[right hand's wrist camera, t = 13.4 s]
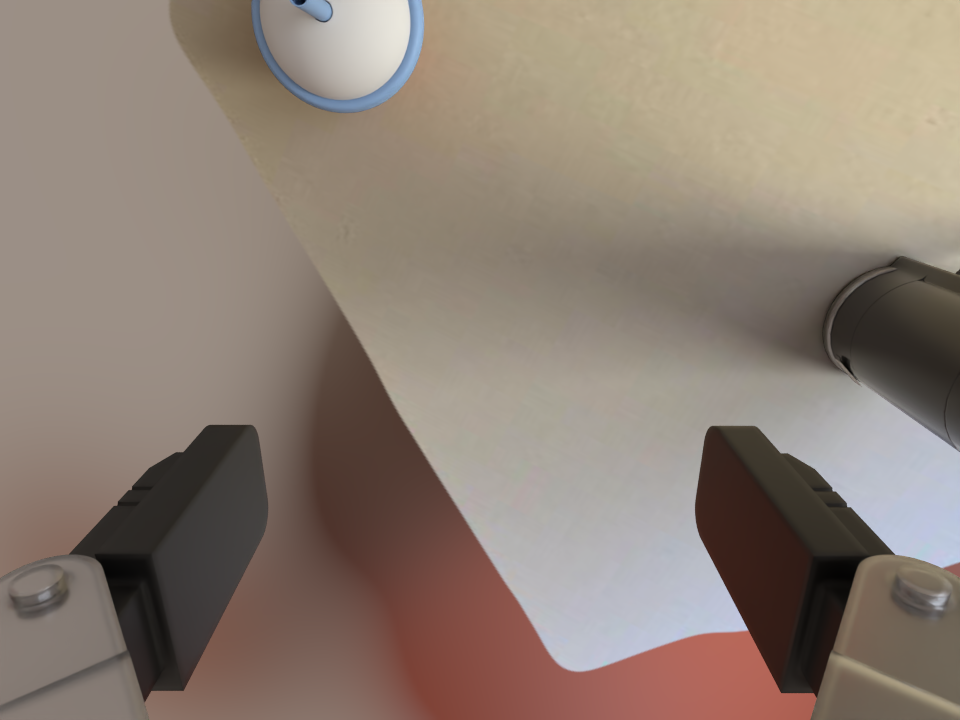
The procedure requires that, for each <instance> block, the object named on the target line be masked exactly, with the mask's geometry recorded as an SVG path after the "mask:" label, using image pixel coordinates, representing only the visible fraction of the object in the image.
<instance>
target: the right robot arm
mask: <svg viewBox="0 0 960 720" xmlns="http://www.w3.org/2000/svg"><path fill="white" fill-rule="evenodd" d="M823 341H824V346H825V350H826V352H827V354H828V356H829V358H830V359H831V361H832V362H833V363H834V364H835V365H836V366H837V367H838V368H839V369H841V370H842V371H844V372H845V373H846V374H848V375H849V376H850V377H851V379H852V380H853V381H854V382H856V383H857V384H858V385H860V384H859V383H858V382H857V381H856V380H858V381H859V382H861V383H863V384H864V385H866V386H867V387H868V388H870V389H871V390H873V391H874V392H875V393H877V394H878V395H880V396H881V397H883V398H884V399H885V400H887V401H888V402H890V403H891V404H892V405H894V406H895V407H897V408H898V409H900V410H901V411H902V412H904V413H905V414H907V415H908V416H909V417H911V418H912V419H914V420H915V421H917V422H918V423H919V424H921V425H922V426H924V427H925V428H927V429H928V430H929V431H931V432H932V433H934V434H935V435H936V436H938V437H939V438H941V439H942V440H944V441H945V442H946V443H948V444H949V445H951V446H952V447H953V448H955V449H956V450H958V451H959V452H960V270H959V271H958V272H957V273H956V274H954V273H951V272H948V271H945V270H942V269H939V268H936V267H933V266H930V265H927V264H924V263H921V262H918V261H915V260H913V259H910V258H907V257H904V256H902V257H900V258H898V259H897V260H896V261H895V262H894V263H893V264H892V265H891V266H887V267H882V268H879V269H875V270H872V271H870V272H868V273H866V274H863V275H862V276H860V277H858V278H857V279H855V280H854V281H852V282H851V283H850V284H849V285H848V286H846V287H845V288H844V289H843V290H842V291H841V293H840V294H839V295H838V296H837V297H836V299H835V300H834V302H833V303H832V305H831V307H830V309H829V311H828V313H827V316H826V319H825V322H824V327H823ZM860 386H861V385H860ZM861 387H862V386H861ZM695 516H696V524H697V529H698V532H699V535H700V538H701V540H702V542H703V543H704V545H705V547H706V549H707V551H708V553H709V555H710V557H711V559H712V561H713V563H714V565H715V567H716V569H717V570H718V572H719V574H720V576H721V578H722V580H723V582H724V584H725V586H726V588H727V590H728V592H729V594H730V595H731V597H732V599H733V601H734V603H735V605H736V607H737V609H738V611H739V613H740V615H741V617H742V619H743V620H744V622H745V624H746V626H747V628H748V630H749V632H750V634H751V636H752V638H753V640H754V642H755V643H756V645H757V647H758V649H759V651H760V653H761V655H762V657H763V659H764V661H765V663H766V665H767V666H768V668H769V670H770V672H771V674H772V676H773V678H774V680H775V682H776V684H777V686H778V688H779V690H780V692H781V693H814V694H815V696H816V698H817V700H816V703H815V706H814V710H813V713H812V716H811V720H960V578H959V577H957V576H956V575H954V574H952V573H950V572H948V571H947V570H944V569H942V568H940V567H938V566H936V565H933V564H930V563H928V562H925V561H922V560H918V559H915V558H911V557H906V556H899V555H895V554H894V553H893V552H892V551H891V550H890V549H889V548H888V547H887V545H886V544H885V543H884V542H883V541H882V540H881V539H880V538H879V537H878V536H877V535H876V534H875V533H874V532H873V531H872V530H871V528H870V527H869V526H868V525H867V524H866V523H865V522H864V521H863V520H862V519H861V518H860V517H859V516H858V515H857V514H856V513H855V511H854V510H853V509H852V508H851V507H847V503H846V502H845V501H844V500H843V499H842V498H841V497H840V496H839V494H838V493H837V492H833V491H832V487H831V486H830V485H829V484H828V483H827V482H826V481H825V480H824V479H823V477H822V476H821V475H820V474H819V473H818V472H817V471H816V470H815V469H813V468H812V467H810V466H808V465H807V464H805V463H803V462H802V461H800V460H798V459H796V458H795V457H793V456H791V455H790V454H781V453H780V452H779V451H778V450H777V449H776V448H775V446H774V445H773V444H772V443H771V442H770V441H769V440H768V439H767V437H766V436H765V435H764V434H763V433H762V432H761V431H760V430H759V429H758V428H757V427H756V426H711V427H710V428H709V429H708V430H707V433H706V436H705V440H704V447H703V454H702V460H701V467H700V474H699V481H698V488H697V494H696V502H695ZM267 518H268V498H267V492H266V485H265V478H264V471H263V464H262V457H261V450H260V443H259V437H258V433H257V431H256V429H255V427H254V426H252V425H208V426H206V427H205V428H204V429H203V431H202V432H201V433H200V434H199V435H198V436H197V437H196V439H195V440H194V441H193V442H192V443H191V444H190V445H189V447H188V448H187V449H186V450H185V451H184V452H176V453H174V454H172V455H171V456H169V457H167V458H166V459H164V460H162V461H161V462H159V463H157V464H155V465H154V466H152V467H150V468H149V469H148V470H147V471H146V472H145V473H144V474H143V475H142V477H141V478H140V479H139V480H138V481H137V482H136V483H135V484H134V485H133V486H132V490H129V491H128V492H127V493H126V494H125V495H124V496H123V497H122V498H121V499H120V500H119V501H118V505H117V506H114V507H113V508H112V509H111V510H110V511H109V512H108V513H107V514H106V515H105V516H104V517H103V518H102V519H101V520H100V522H99V523H98V524H97V525H96V526H95V527H94V528H93V529H92V530H91V531H90V532H89V533H88V534H87V535H86V537H85V538H84V539H83V540H82V541H81V542H80V543H79V544H78V545H77V546H76V547H75V548H74V549H73V551H72V552H71V553H70V554H69V555H61V556H54V557H49V558H45V559H42V560H38V561H35V562H32V563H30V564H27V565H24V566H22V567H20V568H18V569H16V570H14V571H12V572H10V573H8V574H6V575H4V576H3V577H1V578H0V720H149V716H148V713H147V710H146V706H145V701H146V699H147V697H148V696H149V694H150V692H151V691H184V689H185V687H186V685H187V683H188V681H189V679H190V677H191V675H192V673H193V671H194V669H195V668H196V666H197V664H198V662H199V660H200V658H201V656H202V654H203V652H204V650H205V648H206V646H207V644H208V642H209V640H210V638H211V636H212V634H213V632H214V631H215V629H216V627H217V625H218V623H219V621H220V619H221V617H222V615H223V613H224V611H225V609H226V607H227V605H228V603H229V601H230V599H231V597H232V596H233V593H234V592H235V589H236V588H237V586H238V584H239V582H240V580H241V578H242V576H243V574H244V572H245V570H246V568H247V566H248V564H249V562H250V560H251V559H252V557H253V555H254V553H255V551H256V549H257V547H258V545H259V543H260V541H261V539H262V537H263V535H264V532H265V528H266V524H267Z"/></svg>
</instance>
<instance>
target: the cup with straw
mask: <svg viewBox="0 0 960 720" xmlns="http://www.w3.org/2000/svg"><path fill="white" fill-rule="evenodd" d="M251 6H252V23H253V28H254V33H255V37H256V41H257V43H258V46H259V49H260V51H261V54H262V56H263V58H264V60H265V62H266V63H267V65H268V67H269V68H270V70H271V71H272V73H273V74H274V75H275V77H276V78H277V79H278V80H279V82H280V83H281V84H282V85H283V86H284V87H285V88H286V89H288V90H289V91H290V92H291V93H292V94H294V95H295V96H296V97H298V98H299V99H301V100H302V101H304V102H306V103H308V104H310V105H312V106H314V107H317V108H320V109H322V110H326V111H331V112H338V113H353V112H360V111H364V110H368V109H371V108H373V107H376V106H378V105H380V104H382V103H383V102H385V101H387V100H388V99H389V98H391V97H392V96H393V95H394V94H395V93H397V92H398V91H399V90H400V88H401V87H402V86H403V85H404V84H405V83H406V81H407V80H408V78H409V77H410V75H411V73H412V72H413V70H414V68H415V66H416V63H417V61H418V58H419V55H420V51H421V48H422V42H423V34H424V15H423V7H422V1H421V0H252V4H251Z"/></svg>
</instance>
